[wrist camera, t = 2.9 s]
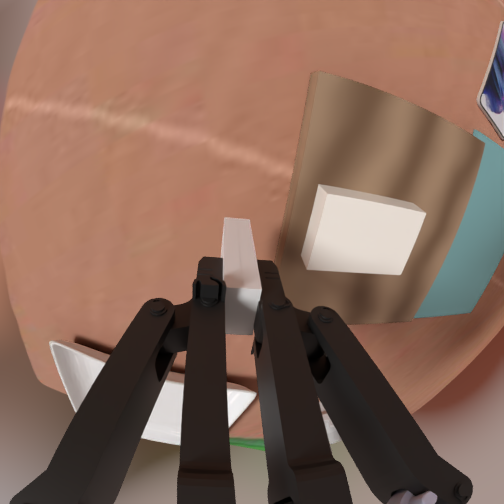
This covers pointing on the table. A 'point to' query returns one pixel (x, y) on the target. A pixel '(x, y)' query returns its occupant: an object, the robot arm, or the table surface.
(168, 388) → the square plate
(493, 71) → the smartphone
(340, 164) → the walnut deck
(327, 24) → the table surface
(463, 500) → the robot arm
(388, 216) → the ceramic tile
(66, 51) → the table surface
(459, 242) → the teal mat
